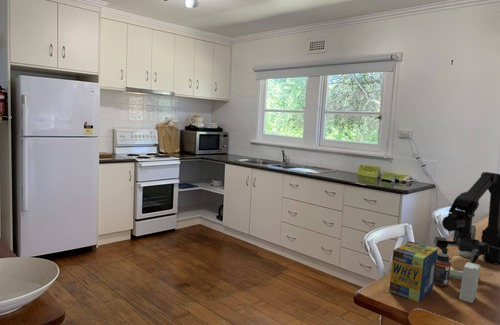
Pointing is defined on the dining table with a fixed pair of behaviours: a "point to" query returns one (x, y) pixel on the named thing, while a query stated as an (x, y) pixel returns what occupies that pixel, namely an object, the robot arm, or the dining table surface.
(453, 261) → the ball
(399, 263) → the protein box
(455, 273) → the tray
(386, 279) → the dining table surface
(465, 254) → the energy drink can
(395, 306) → the dining table surface
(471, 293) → the skincare box
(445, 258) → the supplement bottle
